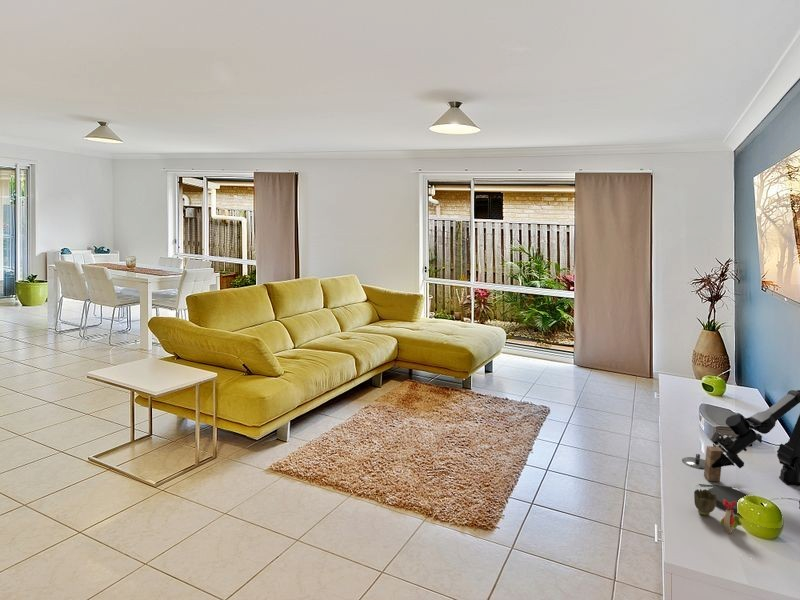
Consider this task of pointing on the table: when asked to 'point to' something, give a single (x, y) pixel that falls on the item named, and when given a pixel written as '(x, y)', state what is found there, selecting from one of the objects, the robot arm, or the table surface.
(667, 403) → the table surface
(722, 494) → the media streaming box
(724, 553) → the table surface
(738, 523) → the bird rattle
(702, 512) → the cup
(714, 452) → the walnut block
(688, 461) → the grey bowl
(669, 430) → the table surface
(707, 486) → the rubber mat
